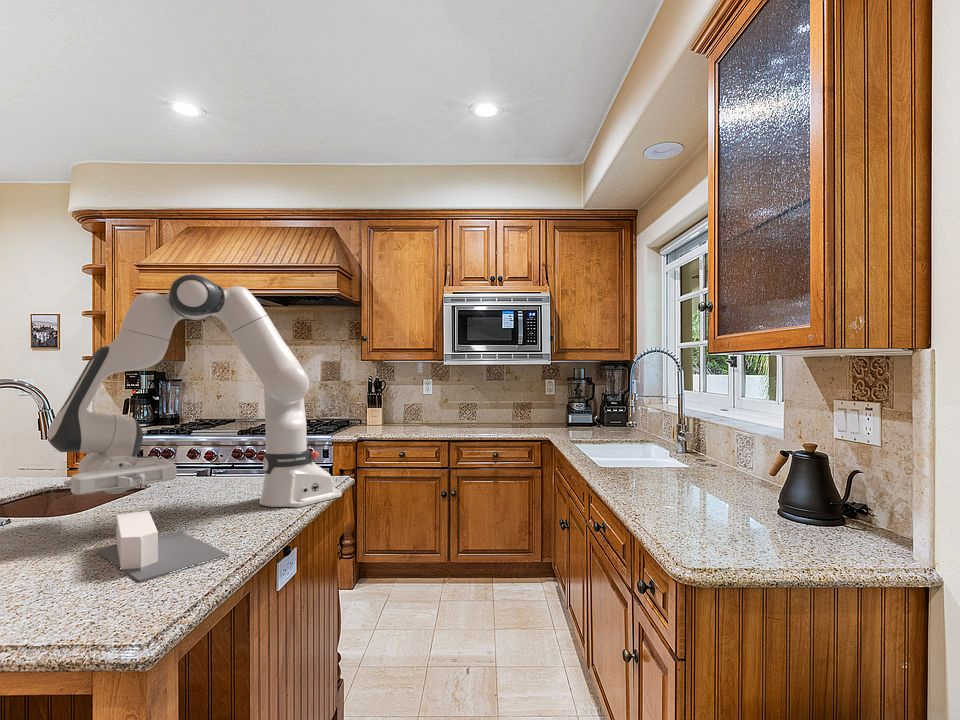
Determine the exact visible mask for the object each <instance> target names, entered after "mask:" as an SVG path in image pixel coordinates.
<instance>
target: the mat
mask: <svg viewBox="0 0 960 720" xmlns="http://www.w3.org/2000/svg"><path fill="white" fill-rule="evenodd" d="M96 554H98V555H99V554H100V555H99V556H100V557H102V556H103V557H104V559H105V558H106V559H107V561H108V562H109V561H110V562H109V563H111V562H112V563H113V564H112V563H111V564H112V565H114V564H115V565H116V566H118V567H119V568H121V567H120V561H119V555H118V549H117V545H115V546H112V547H111V546H110V547H107V548H104V549H103V548H102V549H98V550H96ZM228 555H230V553H228V552H225V551H223V550H221V549H218V548H216V547H214V546H212V545H210V544H208V543H206V542H204V541H201V540H200V539H198V538H195V537H193V536H191V535H189V534H186V533H185V532H182V531H174V532H171V533H167V534H162V535H158V562H156V563H153V564H150V565H148V566H145V567H142V568H141V570H140V568H135V569H122V570H123V571H122V570H121V571H122V572H124V571H125V572H126V573H125V572H124V573H125V574H126V575H128V574H129V575H130V576H129V575H128V576H129V577H131V578H132V579H133V580H136V582H138V583H143V581H144V582H147V581H150V580H153V578H154V579H156V578H155V577H157V578H159V577H158V576H161V577H163V576H162V575H164V574H168V573H170V572H173V571H176V570H179V569H182V568H185V567H189V566H192V565H196V564H199V563H202V562H206V561H210V560H213V559H217V558H221V557H224V556H228ZM103 557H102V558H103ZM106 559H105V560H106ZM115 565H114V566H115ZM116 566H115V567H116ZM118 567H117V568H118ZM119 568H118V569H119ZM168 575H169V574H168ZM164 576H165V575H164ZM146 580H147V581H146Z"/></svg>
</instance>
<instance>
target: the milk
mask: <svg viewBox="0 0 960 720" xmlns="http://www.w3.org/2000/svg"><path fill="white" fill-rule="evenodd" d="M115 522H116V523H115V526H116V529H115V530H116V531H115V532H116V533H115V534H116V535H115V536H116V539H115V540H116V546H117V549H118V555H119V561H120V567H121V569H135V568H140V570H141V568H142V567H145V566H148V565H150V564H153V563H156V562H158V536H159V532H158V529H157V527H156V524H155V522H154V519H153V518H152V515H151V513H150V510H142V511H135V512H128V513H122V514H117V515H116V521H115ZM121 569H120V570H121Z"/></svg>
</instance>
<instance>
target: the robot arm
mask: <svg viewBox="0 0 960 720" xmlns="http://www.w3.org/2000/svg"><path fill="white" fill-rule="evenodd" d="M126 311H127V312H126V313H125V315H124V318H123V320H122V323H121V327H120V329H119V331H118V334H117V336H116V337H115V339H113V341H112V342H110V344H108V345H105V346H100V347H99V348H97V350H96V351H95V352H94V353H93V355H92V356H91V358H90V359H89V361H88V363H87V364H86V365H85V367H84V369H83V370H82V372H81V374H80V376H79V378H78V379H77V381H76V383H75V384H74V386H73V388H72V390H71V392H70V393H69V395H68V396H67V399H66V400H65V402H64V404H63V406H62V407H61V409H60V410H59V411H58V413H57V414H56V415H55V417H54V418H53V420H52V422H51V423H50V424H49V425H50V426H49V427H48V431H47V441H48V443H49V444H50V445H51V446H52V447H53V448H54V449H55V450H57V451H58V452H60V453H80V452H81V453H87V454H85V455H84V456H83V457H82V458H81V460H79V463H78V467H77V469H78V473H74V474H73V475H71V477H70V479H69V480H64V481H63V485H64V486H66V487H70V492H71V493H72V494H73V495H74V496H75V495H76V496H81V495H88V494H94V493H100V492H104V493H106V494H108V495H109V494H111V495H117V494H118V495H119V494H122V493H125V492H127V491H129V490H133V489H135V488H138V487H141V486H145V485H151V484H156V483H161V482H166V481H173V480H176V478H177V465H176V464H175V463H174V462H171V461H168V460H166V459H159V458H158V456H156V455H150V456H149V455H148V456H146V455H145V456H143V455H142V456H138V454H139V453H140V450H141V448H142V444H143V439H144V432H143V429H142V426H141V425H140V423H139V422H138V420H137V419H136V418H134V417H133V416H132V417H130V416H124V415H118V414H108V413H100V412H99V413H98V412H91V411H89V410H88V409H89V406H90V404H91V403H92V401H93V399H94V397H95V395H96V393H97V392H98V390H99V388H100V387H101V384H102V382H103V381H105V379H107V378H108V377H109V376H112V375H114V374H118V373H123V372H132V371H139V370H145V369H147V368H150V367H153V366H155V365H157V364H158V363H159V362H161V361H162V360H163V359H164V357H165V354H167V350H168V347H169V345H170V341H171V338H172V334H173V330H174V328H175V326H176V325H177V324H178V322H198V321H203V320H207V319H208V318H210V317H211V316H213V317H216V318H218V320H220V321H221V322H222V324H223V325H224V326H225V329H227V331H228V333H229V334H230V336H231V337H232V339H233V340H234V342H235V344H236V345H237V347H238V348H239V350H240V352H241V354H242V355H243V356H244V358H245V360H246V361H247V362H248V364H249V365H250V366H251V369H253V371H254V373H255V374H256V376H257V377H258V378H259V380H260V382H261V383H262V385H263V399H264V402H263V403H264V420H265V421H264V423H265V452H263V462H262V465H263V473H264V478H263V486H262V491H261V495H260V498H259V502H258V503H259V505H261V506H265V507H272V508H273V507H274V508H277V507H279V508H281V507H283V508H284V507H288V508H289V507H291V508H301V507H304V506H310V505H312V504H313V505H314V504H317V503H321V502H325V501H329V500H332V499H338V498H340V497H342V491H341V490H340V489H338V488H337V487H334V486H335V485H334V481H333V477H332V475H331V474H330V473H329V472H328V471H327V470H325V469H324V468H323V467H321V466H319V465H317V464H316V463H315V462H314V461H313V459H315V460H317V459H319V457H320V453H319V452H318V451H315V450H313V451H311V450H309V449H308V448H307V445H308V443H307V432H308V430H307V424H308V423H307V415H306V409H305V398H306V396H307V394H308V392H309V389H310V379H309V376H308V374H307V372H306V371H305V370H304V368H303V366H302V364H301V363H300V362H299V360H298V359H297V358H296V356H295V355H294V353H293V352H292V350H291V349H290V348H289V346H288V345H287V343H285V341H284V339H283V338H282V336H281V335H280V333H279V331H278V329H277V328H276V326H275V325H274V322H273V321H272V320H271V318H270V316H269V315H268V314H267V311H265V309H264V308H263V306H262V305H261V303H260V302H259V301H258V299H257V298H256V297H255V296H254V295H253V294H252V293H251V291H250V290H249V289H248V288H246V287H244V286H238V285H235V286H234V285H233V286H230V287H226V288H225V289H224V288H223V287H222V286H221V285H218V284H216V283H215V282H213V281H211V280H210V279H209V278H206V277H204V276H202V275H199V274H193V273H192V274H185V275H182V276H179V277H178V278H177V279H175V280H174V281H173V283H172V284H171V285H170V288H169V292H167V293H166V294H160V293H158V292H143V293H140V294H138V295H136V296H135V298H134V299H133V301H132V302H131V303H130V306H129V308H128V309H127V310H126Z"/></svg>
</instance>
